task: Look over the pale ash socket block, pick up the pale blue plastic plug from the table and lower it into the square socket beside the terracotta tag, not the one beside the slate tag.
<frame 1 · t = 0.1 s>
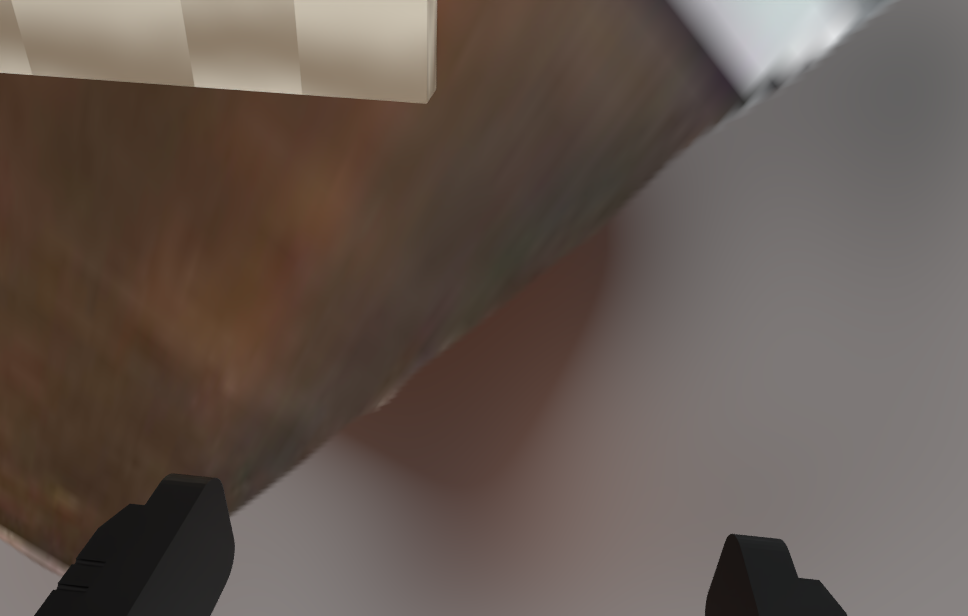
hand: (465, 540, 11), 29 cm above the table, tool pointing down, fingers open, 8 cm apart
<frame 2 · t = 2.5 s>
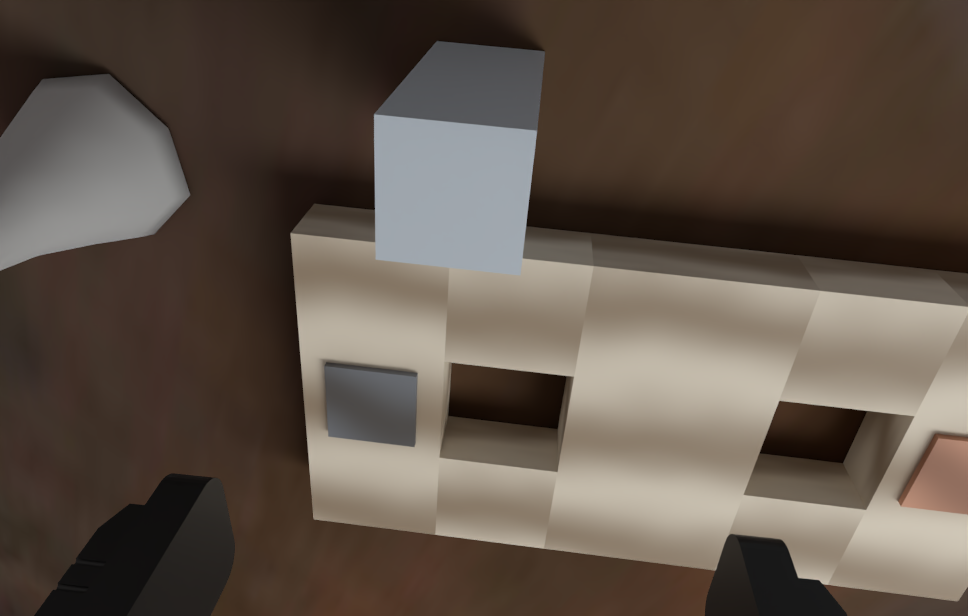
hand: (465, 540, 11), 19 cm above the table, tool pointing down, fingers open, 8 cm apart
flask: (107, 157, 29), on the table
socket block: (654, 395, 33), on the table
plug: (486, 100, 26), on the table
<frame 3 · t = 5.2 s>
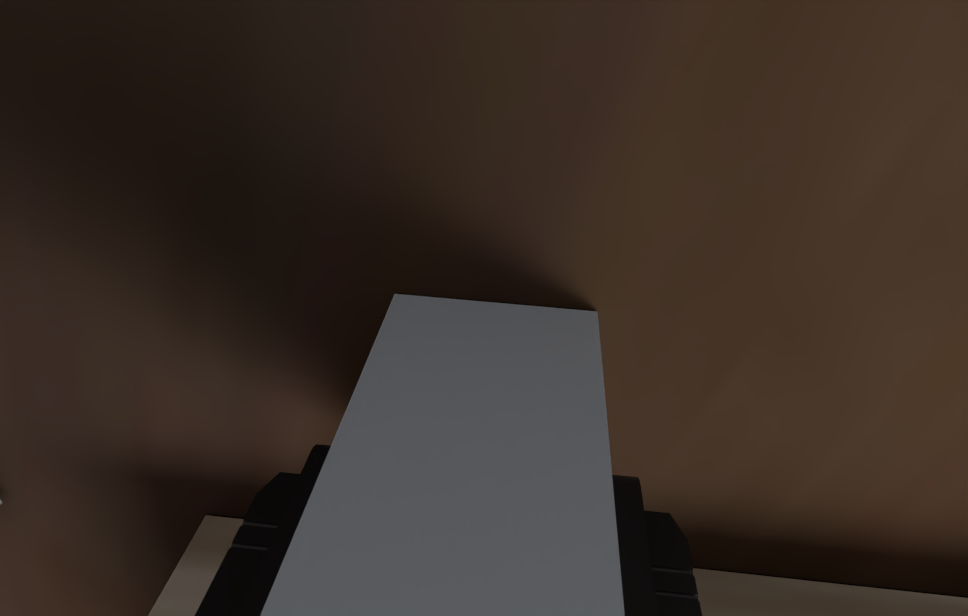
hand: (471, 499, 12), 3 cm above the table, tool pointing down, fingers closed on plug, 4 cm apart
plug: (490, 383, 14), on the table, touching gripper
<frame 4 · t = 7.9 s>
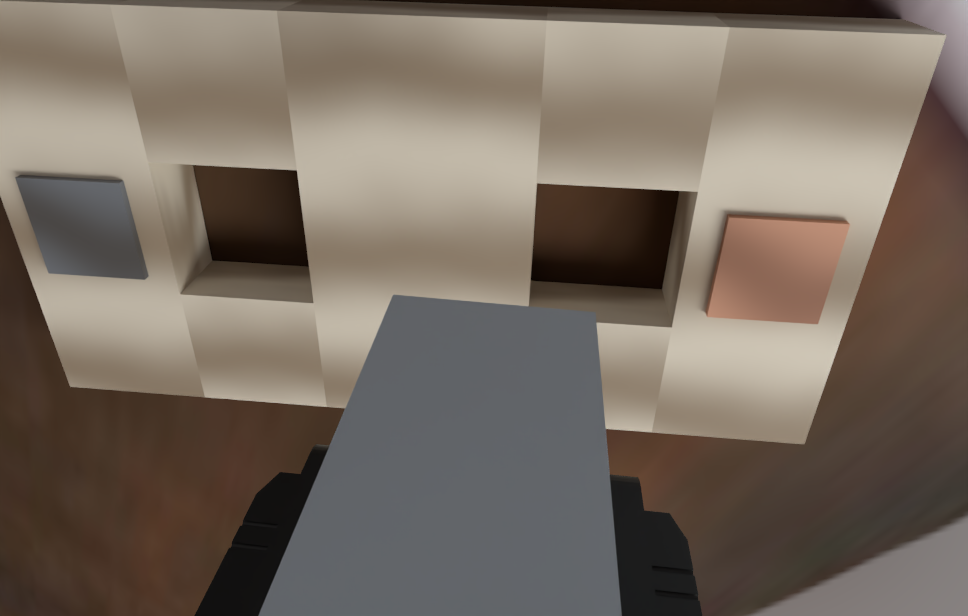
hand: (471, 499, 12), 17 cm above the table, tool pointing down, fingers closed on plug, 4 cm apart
socket block: (430, 215, 28), on the table
plug: (488, 384, 15), point 14 cm above the table, touching gripper
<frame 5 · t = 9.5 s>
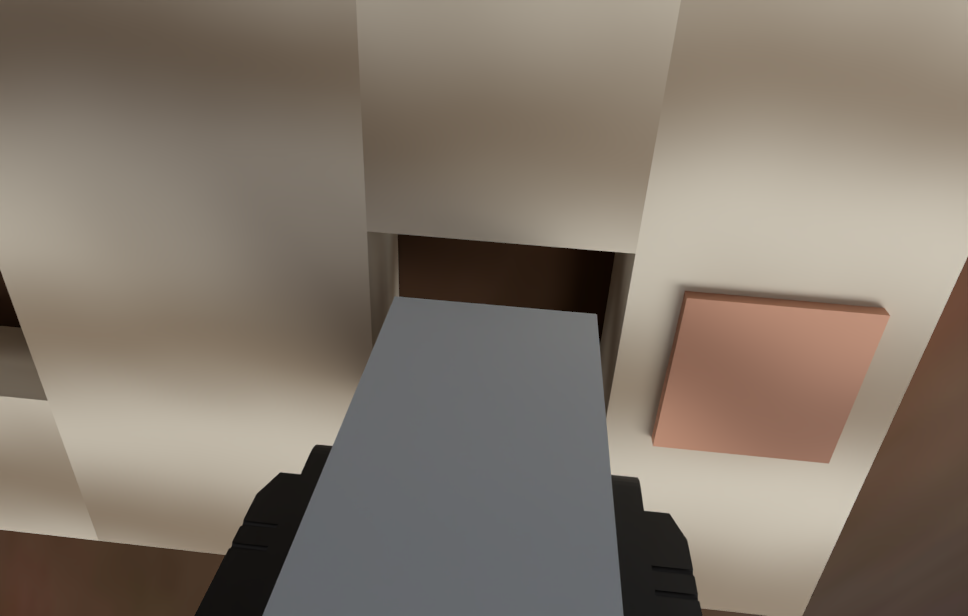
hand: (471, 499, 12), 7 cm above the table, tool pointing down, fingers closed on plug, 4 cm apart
socket block: (242, 265, 18), on the table
plug: (489, 385, 15), point 4 cm above the table, touching gripper
when the fingers open (5 cm above the table, at t = 10.8 s): plug drops 1 cm, resting in socket block.
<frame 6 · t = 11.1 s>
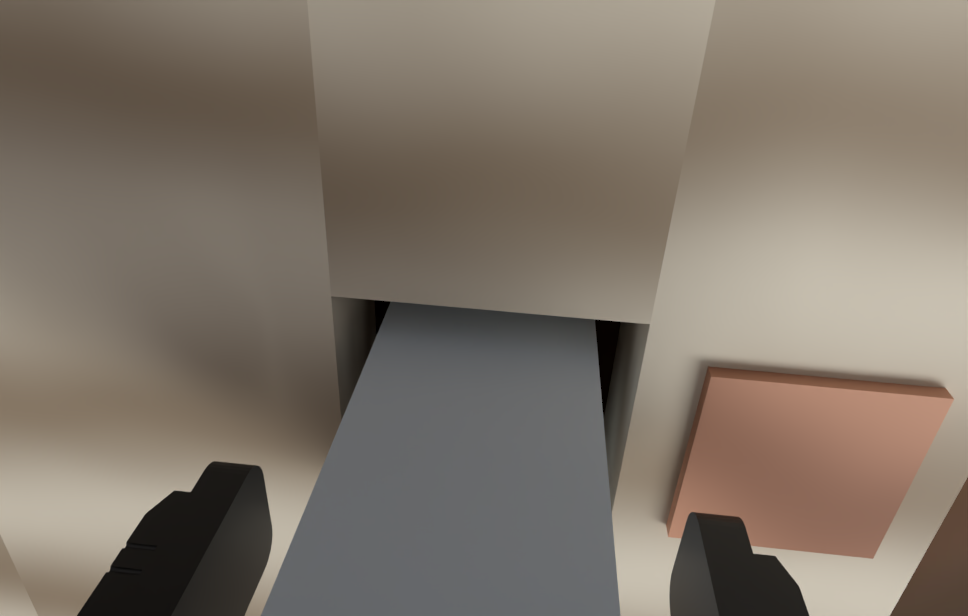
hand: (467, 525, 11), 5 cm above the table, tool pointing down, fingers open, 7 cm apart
socket block: (198, 318, 16), on the table
plug: (494, 347, 16), resting in socket block
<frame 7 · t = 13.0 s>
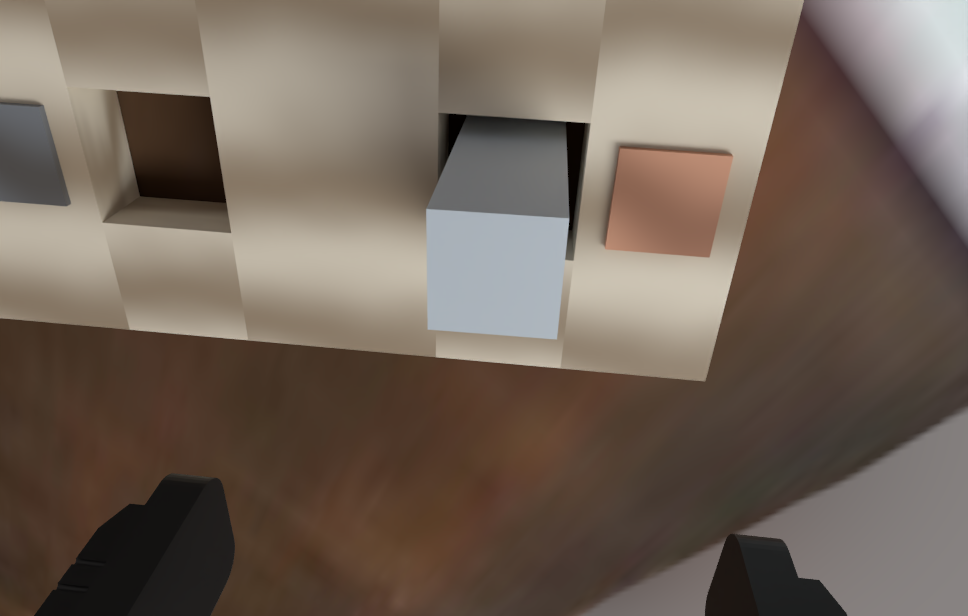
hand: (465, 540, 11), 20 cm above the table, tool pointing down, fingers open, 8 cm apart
socket block: (348, 152, 29), on the table
plug: (513, 166, 29), resting in socket block
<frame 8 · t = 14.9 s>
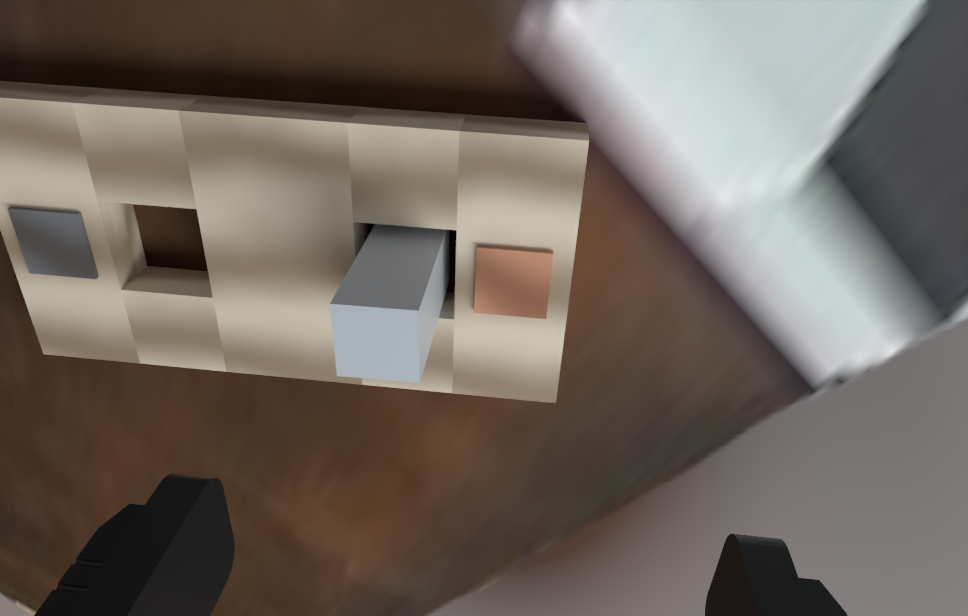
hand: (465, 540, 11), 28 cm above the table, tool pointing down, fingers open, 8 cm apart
socket block: (297, 238, 40), on the table
plug: (415, 249, 40), resting in socket block
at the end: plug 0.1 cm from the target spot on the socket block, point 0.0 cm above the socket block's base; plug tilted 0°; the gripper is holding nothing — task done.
